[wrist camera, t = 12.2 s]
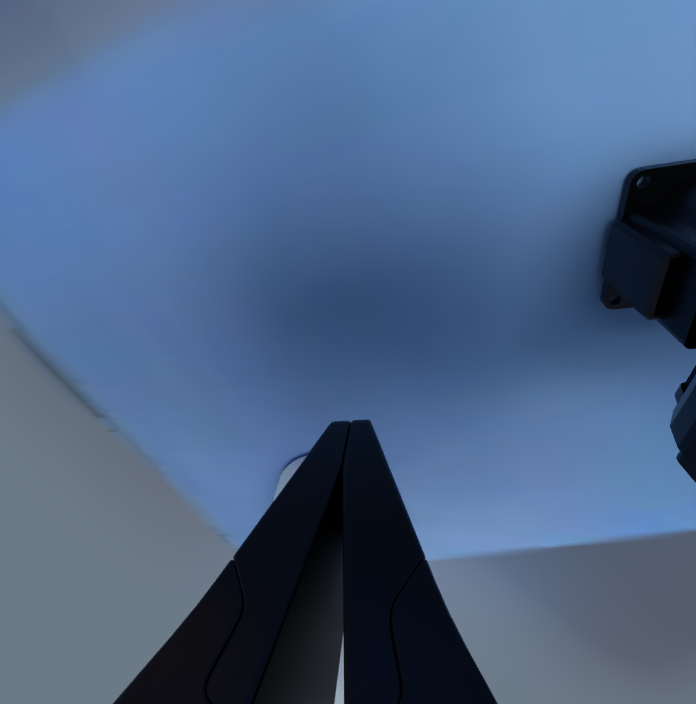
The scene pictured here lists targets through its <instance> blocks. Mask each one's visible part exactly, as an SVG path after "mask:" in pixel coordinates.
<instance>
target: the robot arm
mask: <svg viewBox="0 0 696 704" xmlns="http://www.w3.org/2000/svg"><path fill="white" fill-rule="evenodd" d="M643 176H645V181H644V183H643V184H641V185H640V186H637V181H638V180H639V179H640V178H641V177H643ZM602 276H603V277H604V278H605V280H604V285H603V290H602V294H601V302H602V303H603V305H604V306H605V307H606V308H608V309H621V308H632V307H634V308H635V309H636V310H637V311H638V312H639V313H640V314H641V315H642V316H644V317H645V318H646V319H647V320H657V321H658V322H659V323H660V324H661V325H662V326H664V327H665V328H666V329H667V330H668V331H669V332H670V333H671V334H672V335H673V336H674V337H675V338H676V339H677V340H678V341H679V342H680V343H682V344H683V345H684V346H685V347H686V348H688V349H696V159H694V160H687V161H680V162H674V163H667V164H660V165H653V166H647V167H641V168H638V169H636V170H634V171H633V172H631V173H630V175H629V176H628V177H627V180H626V182H625V187H624V191H623V196H622V201H621V205H620V210H619V215H618V219H617V221H616V222H615V223H614V224H613V225H612V228H611V232H610V237H609V242H608V247H607V252H606V257H605V261H604V266H603V271H602ZM614 296H617V298H616V299H615V300H613V301H610V299H611V298H612V297H614ZM675 398H676V401H677V405H676V407H675V409H674V410H673V415H672V419H671V424H670V428H671V430H672V433H673V436H674V439H675V441H676V444H677V447H678V448H679V450H680V451H679V453H678V454H677V457H676V458H677V460H678V462H679V463H680V465H681V466H682V467H683V468H684V469H685V471H686V472H687V473H688V474H689V475H690V477H691V478H692V479H693V480H694V481H695V482H696V366H695V367H694V369H693V371H692V372H691V374H690V376H689V377H688V379H687V381H686V382H685V383H681V385H680V386H679V388H678V390H677V391H676V393H675ZM233 558H234V560H231V561H230V562H229V563H228V564H227V566H226V567H225V569H224V570H223V571H222V573H221V574H220V575H219V577H218V578H217V579H216V581H215V582H214V583H213V585H212V586H211V587H210V589H209V590H208V591H207V592H206V594H205V595H204V597H203V598H202V599H201V600H200V602H199V603H198V604H197V606H196V607H195V608H194V609H193V610H192V612H191V613H190V614H189V615H188V617H187V618H186V619H185V620H184V621H183V622H182V624H181V625H180V626H179V627H178V628H177V630H176V631H175V632H174V633H173V635H172V636H171V637H170V638H169V639H168V640H167V642H166V643H165V644H164V645H163V646H162V647H161V648H160V650H159V651H158V652H157V653H156V654H155V656H154V657H153V658H152V659H151V660H150V661H149V662H148V663H147V665H146V666H145V667H144V668H143V669H142V670H141V672H140V673H139V674H138V675H137V676H136V678H134V680H133V681H132V682H131V683H130V684H129V685H128V687H127V688H126V689H125V690H124V691H123V692H122V694H121V695H120V696H119V697H118V698H117V699H116V700H115V702H114V703H113V704H334V703H335V695H336V687H337V679H338V671H339V663H340V655H341V648H342V640H343V637H344V704H498V703H497V702H496V700H495V698H494V696H493V694H492V693H491V691H490V689H489V687H488V685H487V683H486V682H485V680H484V678H483V676H482V674H481V672H480V671H479V669H478V667H477V665H476V663H475V661H474V660H473V658H472V656H471V654H470V652H469V650H468V649H467V647H466V645H465V643H464V641H463V639H462V637H461V635H460V633H459V631H458V629H457V627H456V625H455V623H454V621H453V619H452V618H451V615H450V613H449V611H448V609H447V607H446V605H445V602H444V600H443V598H442V595H441V593H440V591H439V589H438V586H437V584H436V582H435V579H434V577H433V574H432V572H431V569H430V567H429V564H428V562H427V560H425V555H424V552H423V550H422V547H421V545H420V542H419V540H418V537H417V535H416V532H415V530H414V528H413V525H412V523H411V520H410V518H409V515H408V513H407V510H406V508H405V505H404V503H403V500H402V498H401V495H400V493H399V490H398V488H397V485H396V483H395V480H394V478H393V475H392V473H391V470H390V468H389V465H388V463H387V460H386V458H385V455H384V453H383V451H382V448H381V446H380V443H379V441H378V438H377V436H376V433H375V431H374V428H373V426H372V423H371V421H370V420H354V421H352V422H349V421H335V422H332V423H331V424H330V425H329V426H328V427H327V429H326V430H325V431H324V433H323V434H322V436H321V437H320V438H319V440H318V441H317V442H316V444H315V445H314V447H313V448H312V449H311V451H310V452H309V453H308V455H307V456H306V458H305V459H304V460H303V462H302V463H301V464H300V466H299V467H298V469H297V470H296V471H295V473H294V474H293V475H292V477H291V478H290V480H289V481H288V482H287V484H286V485H285V486H284V488H283V489H282V491H281V492H280V493H279V495H278V496H277V497H276V499H275V500H274V501H273V503H272V504H271V506H270V507H269V508H268V510H267V511H266V512H265V514H264V515H263V517H262V518H261V519H260V521H259V522H258V523H257V525H256V526H255V528H254V529H253V530H252V532H251V533H250V534H249V536H248V537H247V539H246V540H245V541H244V543H243V544H242V545H241V547H240V548H239V550H238V551H237V552H236V554H235V555H234V557H233Z"/></svg>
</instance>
